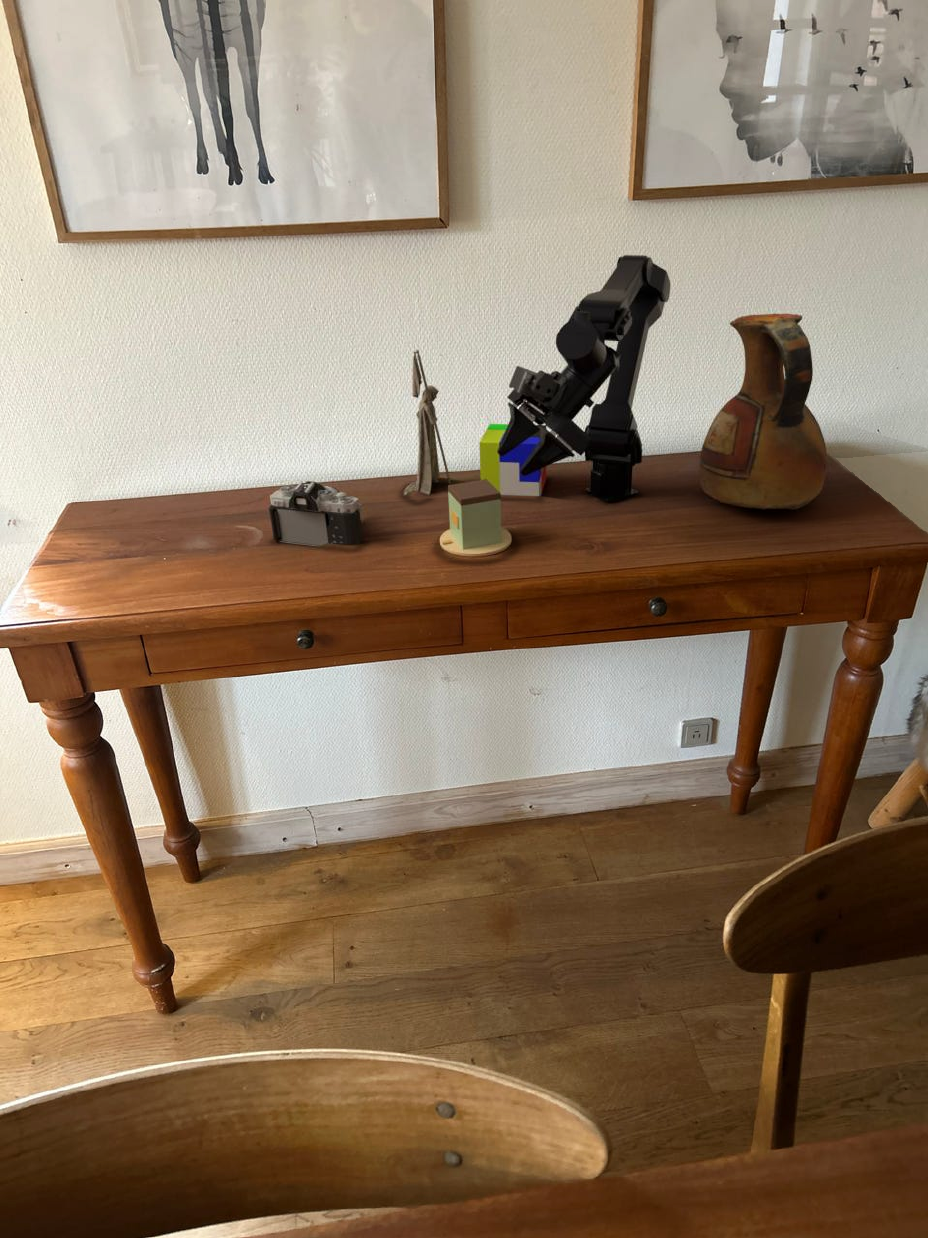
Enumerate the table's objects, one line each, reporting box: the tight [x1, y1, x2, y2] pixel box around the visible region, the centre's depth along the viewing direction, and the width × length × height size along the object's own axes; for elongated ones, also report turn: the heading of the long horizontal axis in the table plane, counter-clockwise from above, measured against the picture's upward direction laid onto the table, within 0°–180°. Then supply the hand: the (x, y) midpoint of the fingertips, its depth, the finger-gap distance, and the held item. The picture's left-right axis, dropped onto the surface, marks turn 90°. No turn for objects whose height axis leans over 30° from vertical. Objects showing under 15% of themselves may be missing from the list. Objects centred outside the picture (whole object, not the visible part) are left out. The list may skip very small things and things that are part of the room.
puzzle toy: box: [479, 423, 547, 497], centre depth 155 cm, size 10×10×10 cm
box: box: [439, 479, 513, 558], centre depth 135 cm, size 11×11×8 cm
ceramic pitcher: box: [698, 313, 828, 510], centre depth 141 cm, size 20×20×30 cm
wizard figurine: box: [403, 349, 452, 496], centre depth 152 cm, size 10×8×25 cm
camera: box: [268, 480, 364, 548], centre depth 140 cm, size 16×9×10 cm, turn 71°
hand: (510, 464), depth 133 cm, fingers open, 9 cm apart
